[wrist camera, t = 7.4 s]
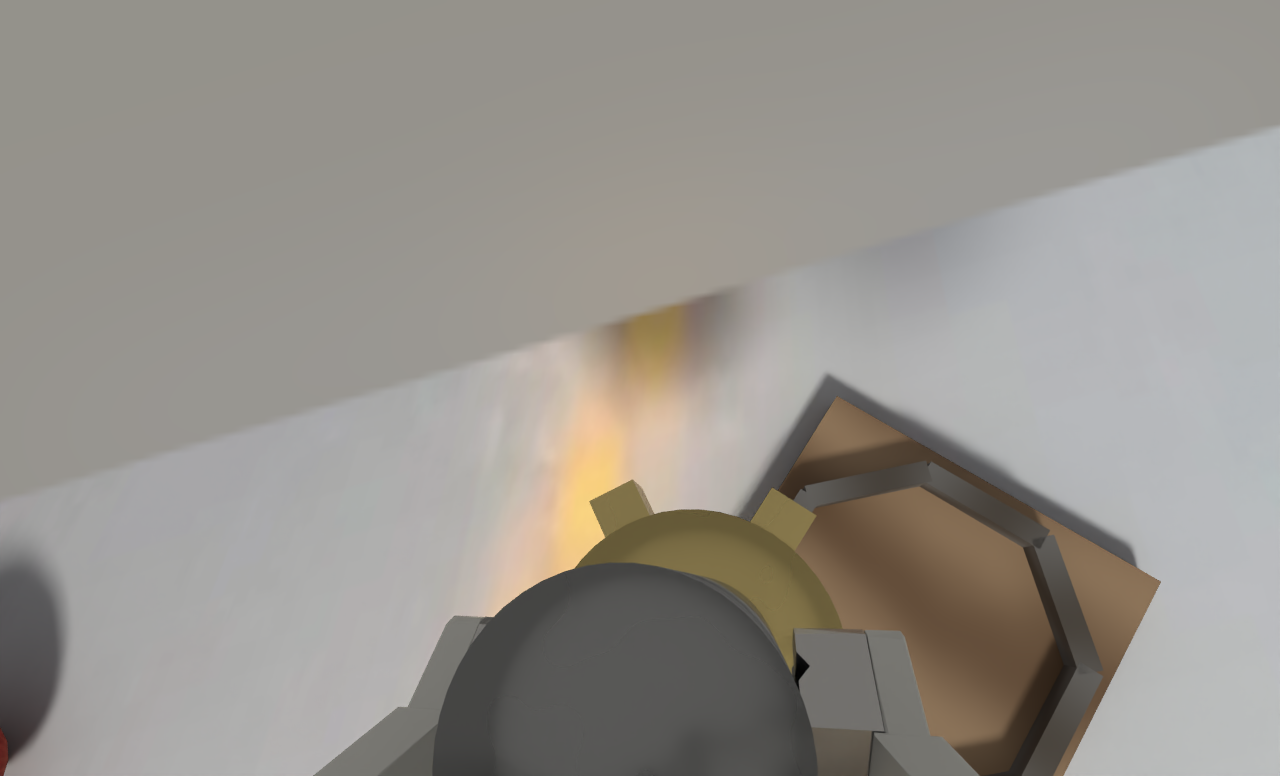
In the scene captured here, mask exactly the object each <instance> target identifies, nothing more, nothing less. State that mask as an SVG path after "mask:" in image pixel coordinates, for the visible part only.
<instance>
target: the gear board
mask: <svg viewBox="0 0 1280 776" xmlns="http://www.w3.org/2000/svg"><path fill="white" fill-rule="evenodd" d="M778 491H779V492H780V493H782V494H783V495H785V496H787V497H788V498H790V499H791V500H793V501H794V502H796V503H798V504H799V505H801V506H802V507H804V508H805V509H807V510H809V511H810V512H812V513H813V514H815V515H817V516H816V517H815V519H814V521H813V522H812V524H811V526H810V527H809V529H808V530H807V532H806V534H805V535H804V537H803V538H802V540H801V542H800V543H799V545H798V546H797V548H796V550H795V552H796V553H797V554H798V555H799V556H800V557H801V558H802V559H803V560H804V561H805V562H806V563H807V565H808V566H809V567H810V568H811V570H812V571H813V572H814V573H815V574H816V576H817V577H818V578H819V580H820V582H821V583H822V585H823V586H824V588H825V590H826V591H827V593H828V594H829V596H830V598H831V600H832V603H833V605H834V607H835V609H836V611H837V613H838V615H839V618H840V622H841V625H842V628H843V629H862V630H863V631H864V630H887V631H901V633H902V634H903V635H904V637H905V640H906V643H907V647H908V651H909V655H910V659H911V663H912V667H913V670H914V674H915V678H916V682H917V686H918V690H919V693H920V697H921V701H922V705H923V709H924V713H925V717H926V720H927V724H928V728H929V732H930V736H939V737H943V738H944V739H945V740H946V741H947V742H948V743H949V744H950V745H951V746H952V748H953V749H954V750H955V751H956V752H957V753H958V754H959V755H960V756H961V757H962V758H963V759H964V760H965V761H966V762H967V763H968V764H969V765H970V766H971V767H972V768H973V769H974V770H975V771H976V772H977V773H978V775H979V776H1063V775H1064V773H1065V771H1066V769H1067V767H1068V765H1069V763H1070V761H1071V759H1072V757H1073V756H1074V754H1075V752H1076V750H1077V748H1078V746H1079V744H1080V742H1081V740H1082V738H1083V736H1084V734H1085V732H1086V730H1087V728H1088V726H1089V724H1090V722H1091V720H1092V718H1093V716H1094V714H1095V712H1096V710H1097V708H1098V706H1099V704H1100V702H1101V700H1102V698H1103V696H1104V694H1105V692H1106V690H1107V688H1108V686H1109V684H1110V682H1111V680H1112V678H1113V676H1114V674H1115V672H1116V670H1117V668H1118V666H1119V664H1120V662H1121V660H1122V658H1123V656H1124V654H1125V652H1126V650H1127V648H1128V646H1129V644H1130V642H1131V640H1132V638H1133V636H1134V634H1135V632H1136V630H1137V628H1138V626H1139V624H1140V622H1141V620H1142V618H1143V616H1144V615H1145V613H1146V611H1147V609H1148V607H1149V605H1150V603H1151V601H1152V599H1153V597H1154V595H1155V593H1156V591H1157V589H1158V587H1159V585H1160V583H1161V581H1159V580H1157V579H1155V578H1154V577H1152V576H1150V575H1148V574H1147V573H1145V572H1143V571H1141V570H1140V569H1138V568H1136V567H1134V566H1133V565H1131V564H1129V563H1127V562H1126V561H1124V560H1122V559H1120V558H1119V557H1117V556H1115V555H1113V554H1112V553H1110V552H1108V551H1106V550H1105V549H1103V548H1101V547H1099V546H1098V545H1096V544H1094V543H1092V542H1091V541H1089V540H1087V539H1086V538H1084V537H1082V536H1080V535H1079V534H1077V533H1075V532H1073V531H1072V530H1070V529H1068V528H1066V527H1065V526H1063V525H1061V524H1059V523H1058V522H1056V521H1054V520H1052V519H1051V518H1049V517H1047V516H1045V515H1044V514H1042V513H1040V512H1038V511H1037V510H1035V509H1033V508H1031V507H1030V506H1028V505H1026V504H1024V503H1023V502H1021V501H1019V500H1017V499H1016V498H1014V497H1012V496H1010V495H1009V494H1007V493H1005V492H1003V491H1002V490H1000V489H998V488H997V487H995V486H993V485H991V484H990V483H988V482H986V481H984V480H983V479H981V478H979V477H977V476H976V475H974V474H972V473H970V472H969V471H967V470H965V469H963V468H962V467H960V466H958V465H956V464H955V463H953V462H951V461H949V460H948V459H946V458H944V457H942V456H941V455H939V454H937V453H935V452H934V451H932V450H930V449H928V448H927V447H925V446H923V445H921V444H920V443H918V442H916V441H914V440H913V439H911V438H909V437H908V436H906V435H904V434H902V433H901V432H899V431H897V430H895V429H894V428H892V427H890V426H888V425H887V424H885V423H883V422H881V421H880V420H878V419H876V418H874V417H873V416H871V415H869V414H867V413H866V412H864V411H862V410H860V409H859V408H857V407H855V406H853V405H852V404H850V403H848V402H846V401H845V400H843V399H841V398H839V397H838V396H837V397H836V398H835V400H834V401H833V403H832V405H831V406H830V408H829V409H828V411H827V413H826V414H825V416H824V417H823V419H822V421H821V422H820V424H819V425H818V427H817V429H816V430H815V432H814V433H813V435H812V437H811V438H810V440H809V441H808V443H807V445H806V446H805V448H804V449H803V451H802V453H801V454H800V456H799V457H798V459H797V461H796V462H795V464H794V465H793V467H792V469H791V470H790V472H789V473H788V475H787V477H786V478H785V480H784V481H783V483H782V485H781V486H780V488H779V490H778Z"/></svg>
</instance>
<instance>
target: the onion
mask: <svg viewBox="0 0 1280 776" xmlns="http://www.w3.org/2000/svg"><path fill="white" fill-rule="evenodd" d="M7 762H8V747H7V740H6V738H5V736H4V734H3V732H2V730H1V728H0V776H3V775H4V772H5V769H6V765H7Z"/></svg>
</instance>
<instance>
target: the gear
mask: <svg viewBox="0 0 1280 776" xmlns="http://www.w3.org/2000/svg"><path fill="white" fill-rule="evenodd" d="M589 502H590V504H591V506H592V509H593V511H594V513H595V515H596V517H597V520H598V522H599V524H600V526H601V529H602V531H603V533H604V535H605V537H606V538H605V539H603V540H602V541H601V542H599V543H598V544H597V545H596V546H594V547H593V549H592V550H591V551H590V552H589V553H588V554H587V555H586V556H585V557H584V558H583V559H582V560H581V561H580V562H579V564H578V565H577V566H576V567H575V569H572V570H568V571H565V572H562V573H560V574H557V575H555V576H553V577H550V578H548V579H546V580H543V581H541V582H540V583H538V584H536V585H535V586H533V587H531V588H530V589H528V590H526V591H524V592H523V593H521V594H520V595H519V596H518V597H516V598H515V599H514V600H512V601H511V602H510V603H509V604H507V605H506V606H505V607H503V608H502V609H501V610H500V611H499V612H498V613H497V614H496V615H495V617H494V618H493V619H492V620H491V621H490V622H489V623H488V624H487V625H486V626H485V627H484V628H483V630H482V631H481V632H480V634H479V635H478V636H477V637H476V639H475V640H474V641H473V643H472V644H471V645H470V647H469V649H468V650H467V652H466V654H465V655H464V657H463V659H462V660H461V662H460V664H459V665H458V668H457V670H456V672H455V674H454V676H453V679H452V681H451V683H450V685H449V688H448V690H447V693H446V696H445V699H444V703H443V706H442V709H441V712H440V715H439V721H438V726H437V731H436V736H435V741H434V753H433V765H432V776H818V766H817V755H816V749H815V744H814V738H813V732H812V728H811V724H810V721H809V718H808V714H807V711H806V708H805V704H804V701H803V699H802V697H801V694H800V692H799V690H798V687H797V685H796V683H795V680H794V678H793V676H792V667H793V666H794V664H793V649H792V639H793V628H822V629H843V628H842V625H841V622H840V618H839V615H838V613H837V611H836V609H835V607H834V605H833V603H832V600H831V598H830V596H829V594H828V593H827V591H826V590H825V588H824V586H823V585H822V583H821V582H820V580H819V578H818V577H817V576H816V574H815V573H814V572H813V571H812V570H811V568H810V567H809V566H808V565H807V563H806V562H805V561H804V560H803V559H802V558H801V557H800V556H799V555H798V554H797V553H796V552H795V550H796V548H797V546H798V545H799V543H800V542H801V540H802V538H803V537H804V535H805V534H806V532H807V530H808V529H809V527H810V526H811V524H812V522H813V521H814V519H815V517H816V516H817V515H815V514H813V513H812V512H810V511H809V510H807V509H805V508H804V507H802V506H801V505H799V504H798V503H796V502H794V501H793V500H791V499H790V498H788V497H787V496H785V495H783V494H782V493H780V492H779V491H777V490H775V489H774V488H771V490H770V492H769V493H768V495H767V496H766V498H765V499H764V501H763V503H762V504H761V506H760V507H759V509H758V510H757V512H756V514H755V515H754V517H753V518H752V520H751V521H750V522H749V521H746V520H744V519H741V518H739V517H736V516H732V515H728V514H724V513H721V512H715V511H707V510H674V511H667V512H661V513H657V514H654V512H653V510H652V508H651V506H650V504H649V502H648V500H647V498H646V495H645V493H644V491H643V489H642V488H641V487H640V486H639V485H638V484H637V483H636V482H635V481H634V480H631V481H629V482H627V483H625V484H623V485H621V486H619V487H617V488H615V489H613V490H611V491H609V492H607V493H605V494H603V495H601V496H599V497H597V498H595V499H593V500H591V501H589Z"/></svg>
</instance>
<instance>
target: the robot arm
mask: <svg viewBox="0 0 1280 776" xmlns="http://www.w3.org/2000/svg"><path fill="white" fill-rule="evenodd" d="M493 618H494V617H471V616H454V617H453V618H452V619H451V620H450V621H449V622H448V623H447V624H446V626H445V628H444V630H443V632H442V635H441V637H440V639H439V641H438V643H437V645H436V647H435V650H434V652H433V654H432V656H431V658H430V660H429V662H428V665H427V667H426V669H425V671H424V673H423V675H422V677H421V680H420V682H419V684H418V686H417V688H416V690H415V692H414V695H413V697H412V699H411V701H410V703H409V705H408V707H398V708H396V709H395V710H394V711H393V712H392V713H390V714H389V715H388V716H387V717H385V718H384V719H383V720H382V721H380V722H379V723H378V724H377V725H375V726H374V727H373V728H372V729H370V730H369V731H368V732H367V733H366V734H364V735H363V736H362V737H361V738H359V739H358V740H357V741H356V742H354V743H353V744H352V745H351V746H349V747H348V748H347V749H346V750H345V751H343V752H342V753H341V754H340V755H338V756H337V757H336V758H335V759H333V760H332V761H331V762H330V763H328V764H327V765H326V766H325V767H323V768H322V769H321V770H320V771H319V772H317V773H316V774H315V775H314V776H432V765H433V753H434V741H435V736H436V731H437V726H438V721H439V715H440V712H441V709H442V706H443V703H444V699H445V696H446V693H447V690H448V688H449V685H450V683H451V681H452V679H453V676H454V674H455V672H456V670H457V668H458V665H459V664H460V662H461V660H462V659H463V657H464V655H465V654H466V652H467V650H468V649H469V647H470V645H471V644H472V643H473V641H474V640H475V639H476V637H477V636H478V635H479V634H480V632H481V631H482V630H483V628H484V627H485V626H486V625H487V624H488V623H489V622H490V621H491V620H492V619H493ZM792 649H793V664H794V666H793V667H792V676H793V678H794V680H795V683H796V685H797V687H798V690H799V692H800V694H801V697H802V699H803V701H804V704H805V708H806V711H807V714H808V718H809V721H810V724H811V728H812V732H813V738H814V744H815V749H816V755H817V766H818V776H979V775H978V773H977V772H976V771H975V770H974V769H973V768H972V767H971V766H970V765H969V764H968V763H967V762H966V761H965V760H964V759H963V758H962V757H961V756H960V755H959V754H958V753H957V752H956V751H955V750H954V749H953V748H952V746H951V745H950V744H949V743H948V742H947V741H946V740H945V739H944V738H943V737H939V736H930V732H929V728H928V724H927V720H926V717H925V713H924V709H923V705H922V701H921V697H920V693H919V690H918V686H917V682H916V678H915V674H914V670H913V667H912V663H911V659H910V655H909V651H908V647H907V643H906V640H905V637H904V635H903V634H902V633H901V631H887V630H864V631H863V630H862V629H822V628H793V639H792Z"/></svg>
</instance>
